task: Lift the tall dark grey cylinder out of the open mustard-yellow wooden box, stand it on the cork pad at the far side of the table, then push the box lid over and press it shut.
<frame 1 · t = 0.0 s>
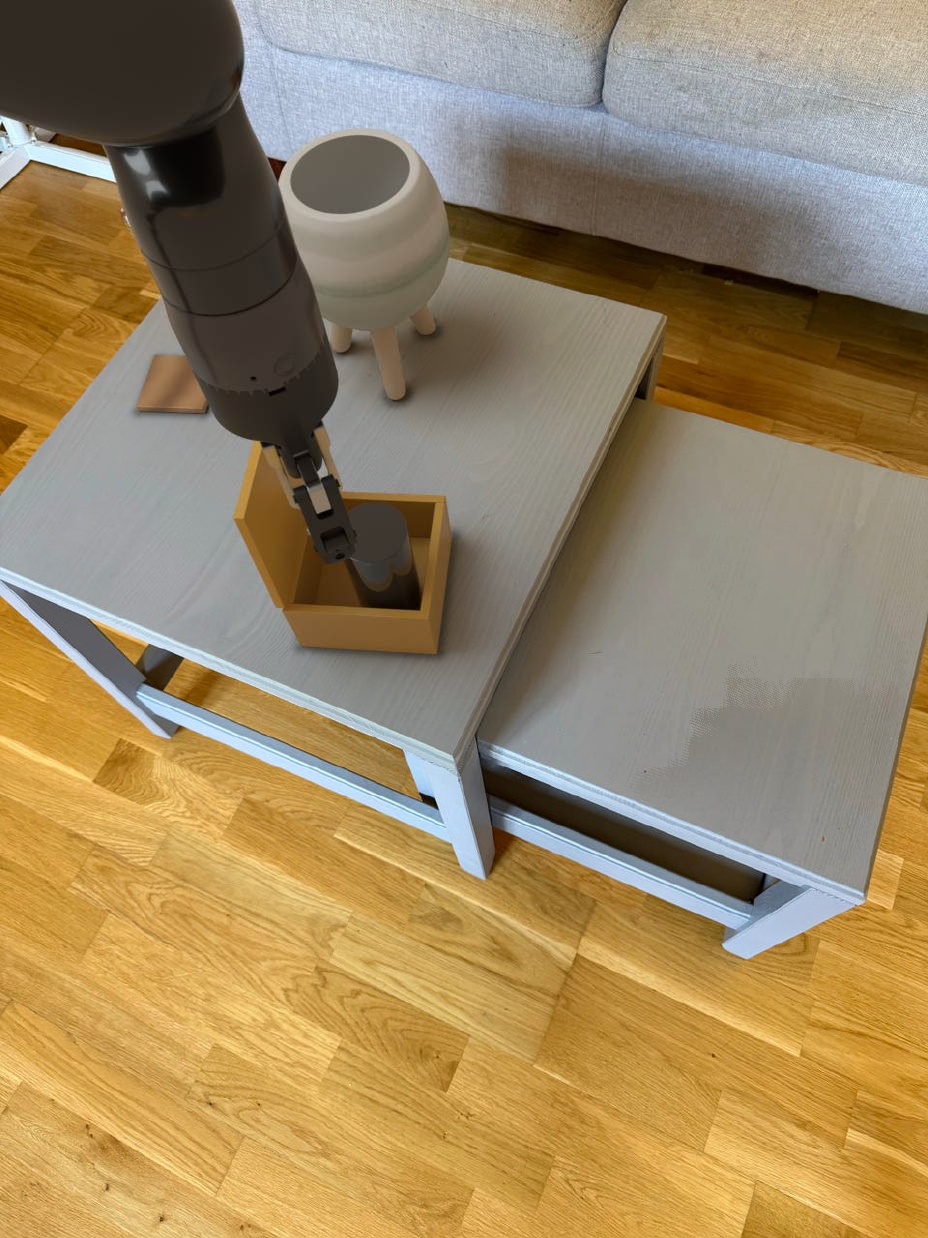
hand: (319, 508, 62), 22 cm above the table, tool pointing down, fingers open, 8 cm apart
dark grey cylinder: (393, 603, 83), point 1 cm above the table, touching chest
pad: (180, 385, 99), on the table
planter: (388, 358, 99), on the table
lid: (277, 500, 73), point 14 cm above the table, hinge at 88.0°
decorative stone: (250, 316, 103), on the table
chest: (378, 590, 85), on the table
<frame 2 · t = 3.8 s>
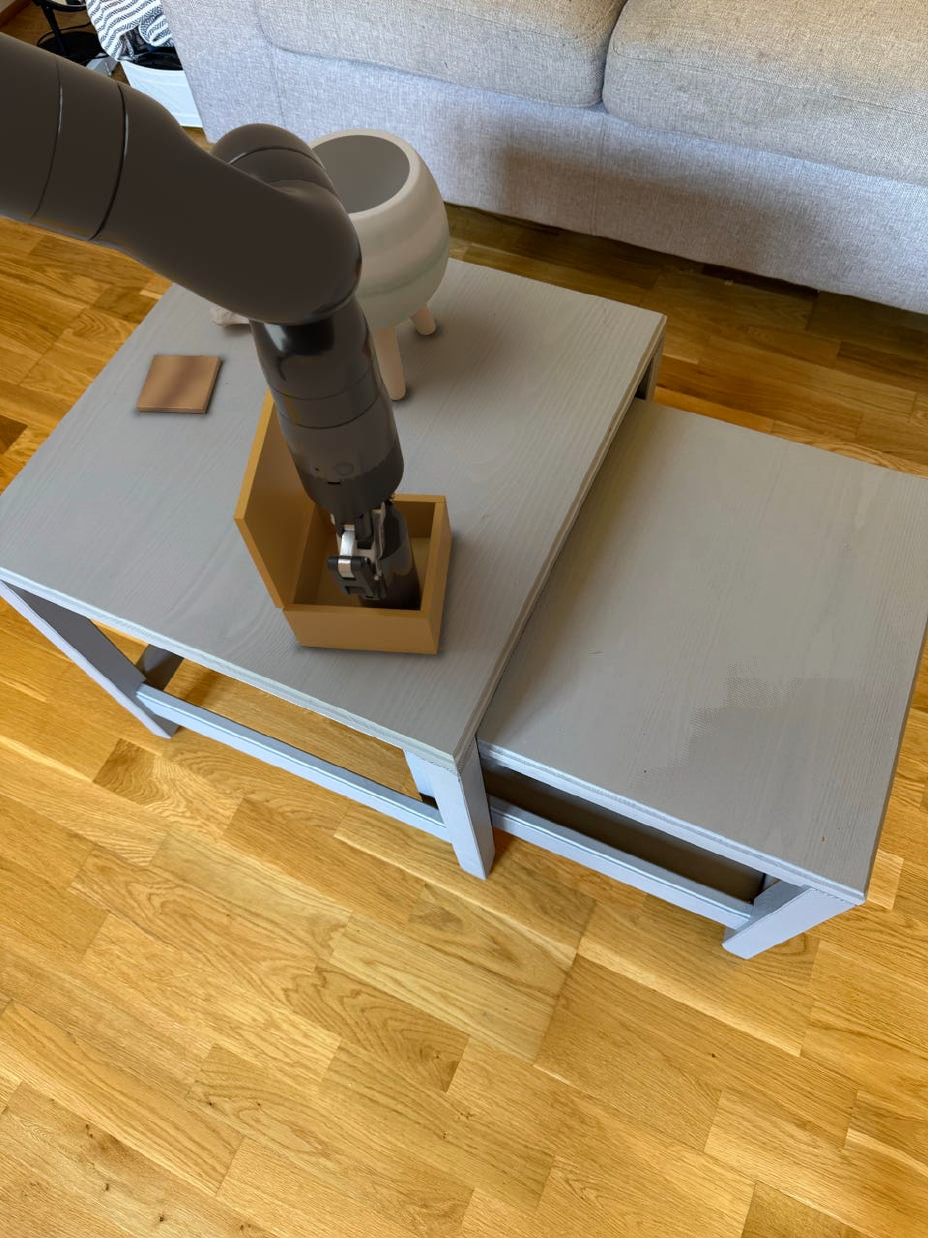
hand: (380, 560, 76), 8 cm above the table, tool pointing down, fingers closed on dark grey cylinder, 6 cm apart
dark grey cylinder: (393, 603, 83), point 1 cm above the table, touching chest, gripper
everything else where it was.
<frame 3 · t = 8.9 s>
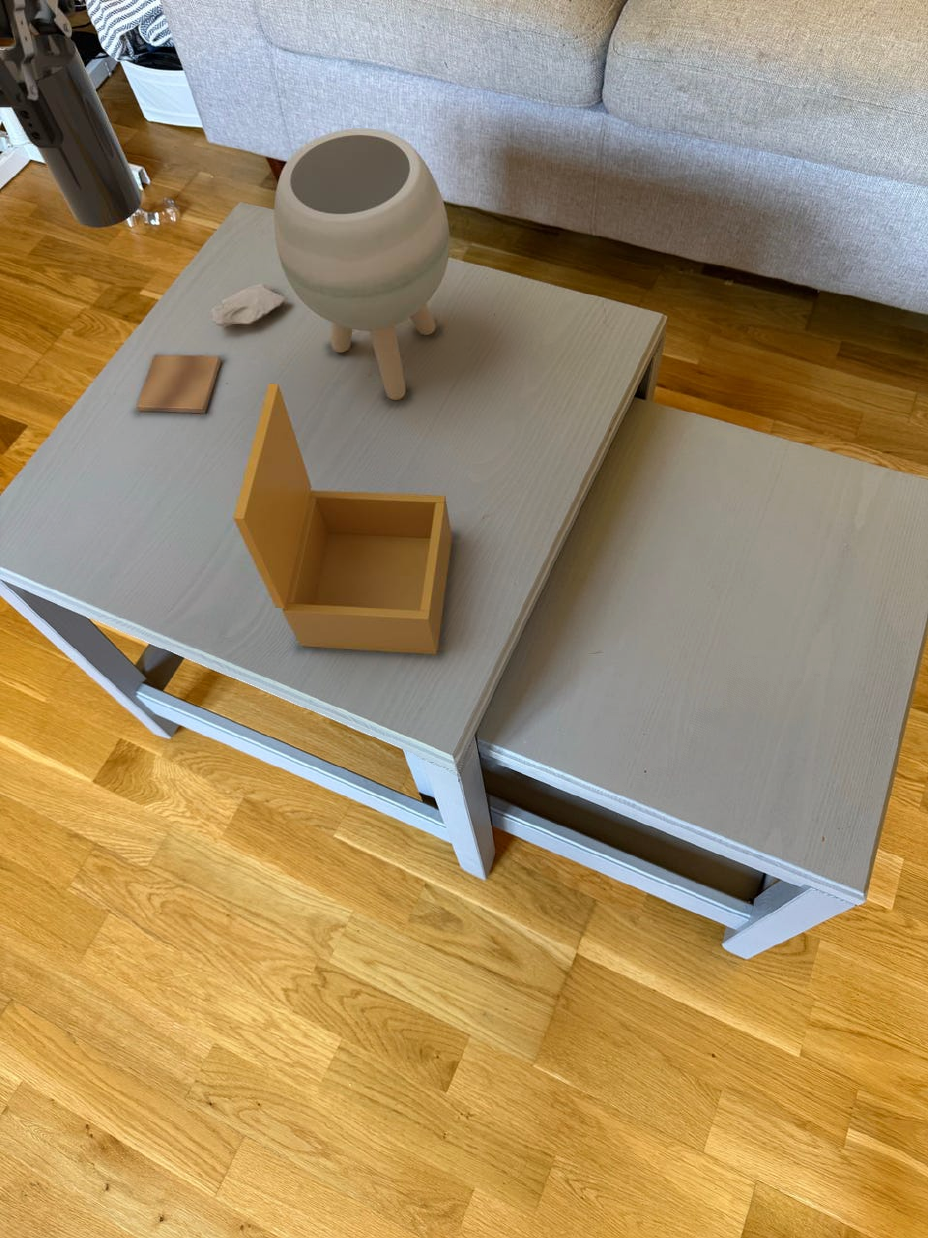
hand: (63, 116, 68), 33 cm above the table, tool pointing down, fingers closed on dark grey cylinder, 6 cm apart
dark grey cylinder: (107, 203, 75), point 25 cm above the table, touching gripper
everything else where it was.
when the fingers open (8 cm above the table, at t = 14.1 s): dark grey cylinder stays where it is, resting on pad.
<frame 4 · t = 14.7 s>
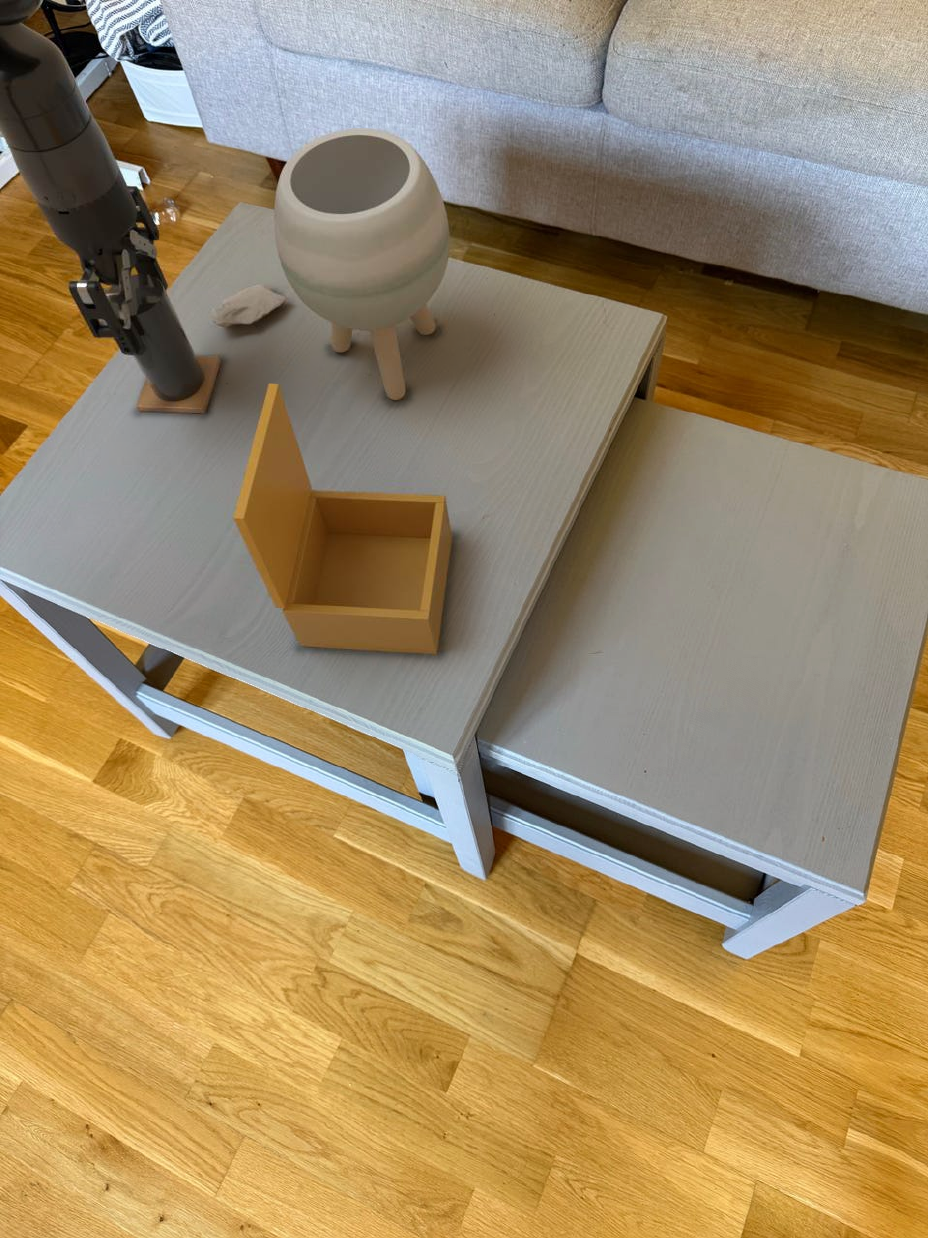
hand: (147, 320, 90), 9 cm above the table, tool pointing down, fingers open, 8 cm apart
dark grey cylinder: (178, 381, 98), point 1 cm above the table, touching pad
everything else where it was.
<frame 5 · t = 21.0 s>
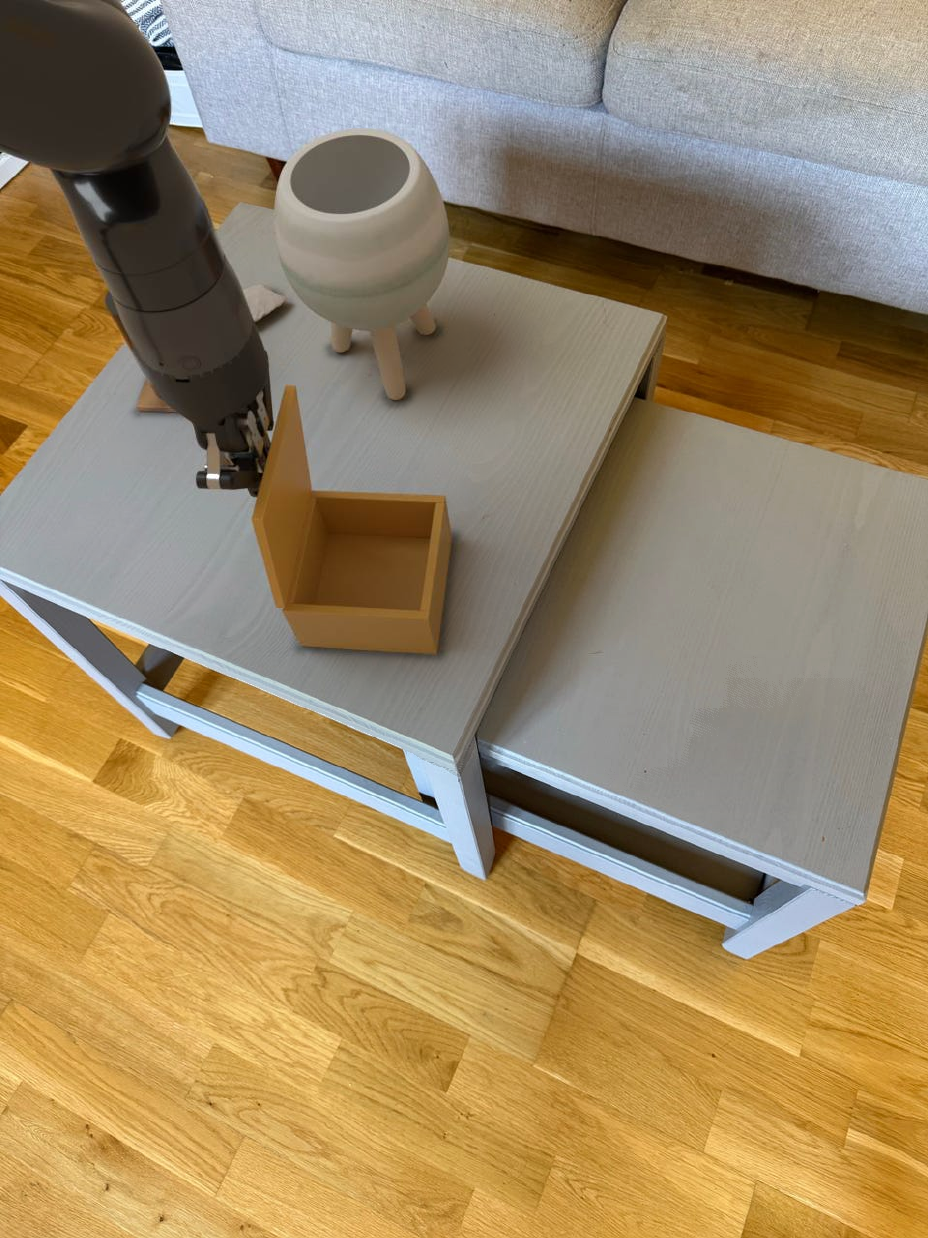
hand: (266, 489, 72), 15 cm above the table, tool pointing down, fingers closed
lid: (285, 501, 73), point 14 cm above the table, hinge at 82.2°, touching gripper
everything else where it was.
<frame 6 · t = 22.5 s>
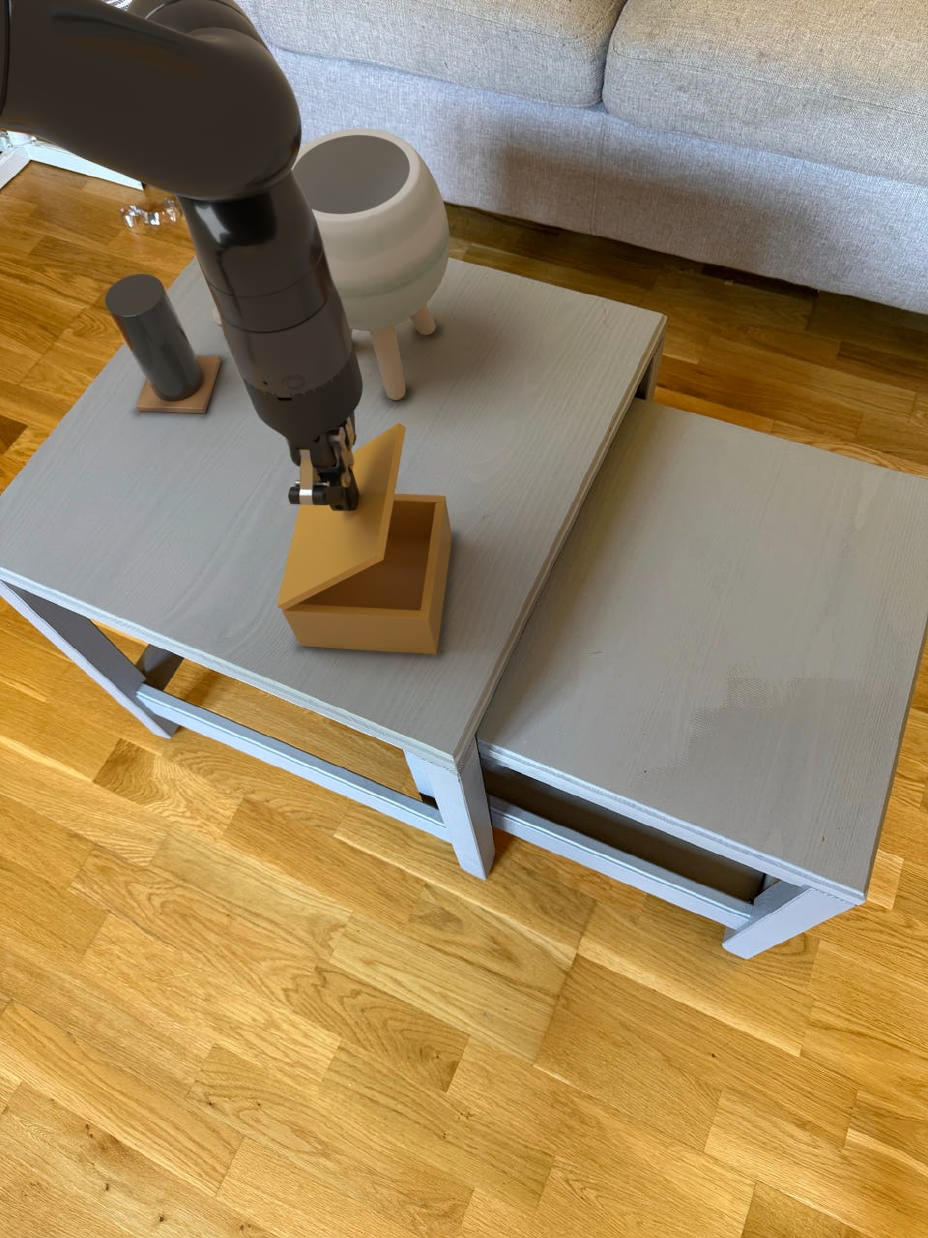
hand: (345, 503, 73), 14 cm above the table, tool pointing down, fingers closed
lid: (340, 518, 74), point 12 cm above the table, hinge at 42.1°, touching gripper
everything else where it was.
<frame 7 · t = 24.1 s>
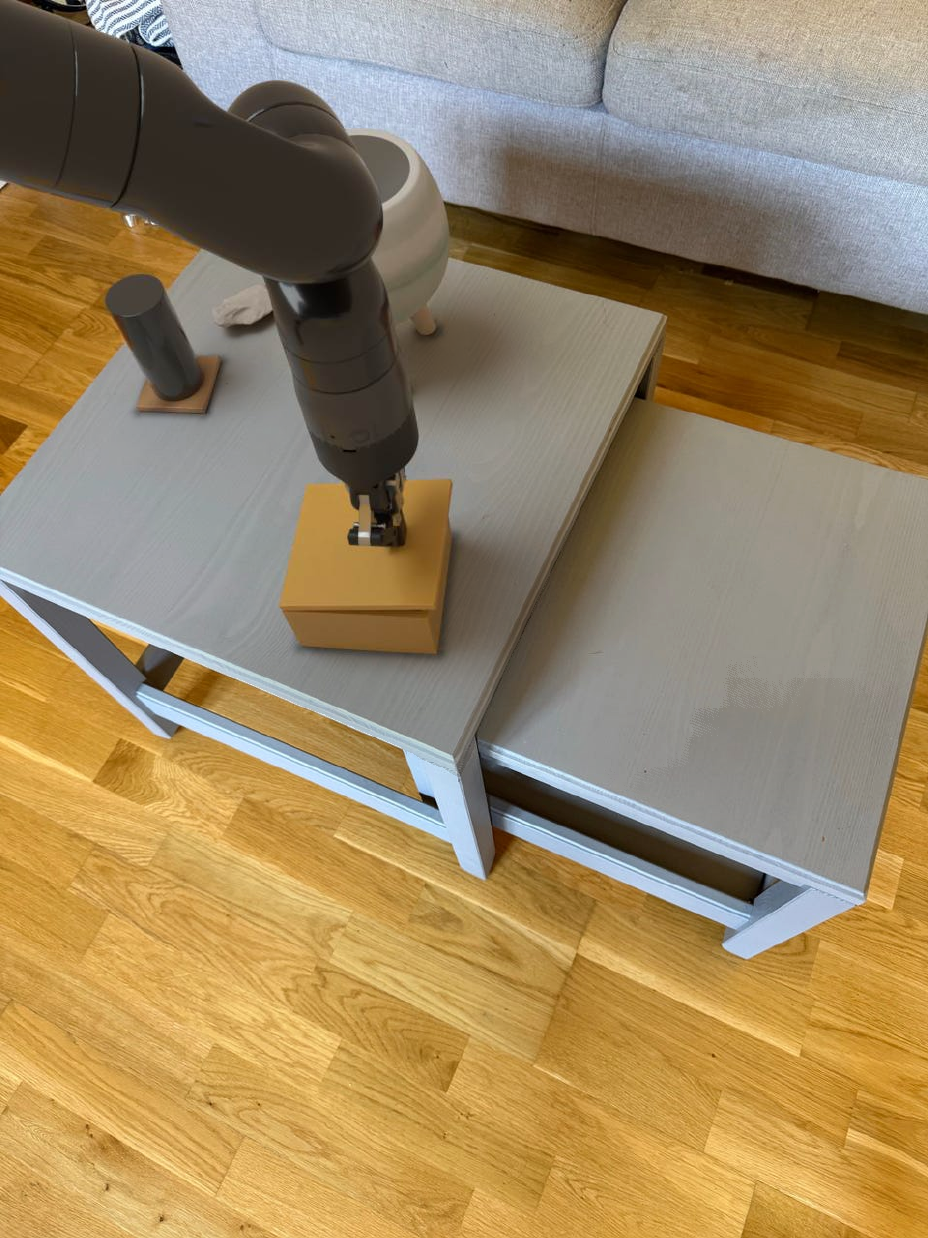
hand: (393, 538, 77), 9 cm above the table, tool pointing down, fingers closed
lid: (367, 543, 78), point 8 cm above the table, hinge at 7.3°, touching gripper
everything else where it was.
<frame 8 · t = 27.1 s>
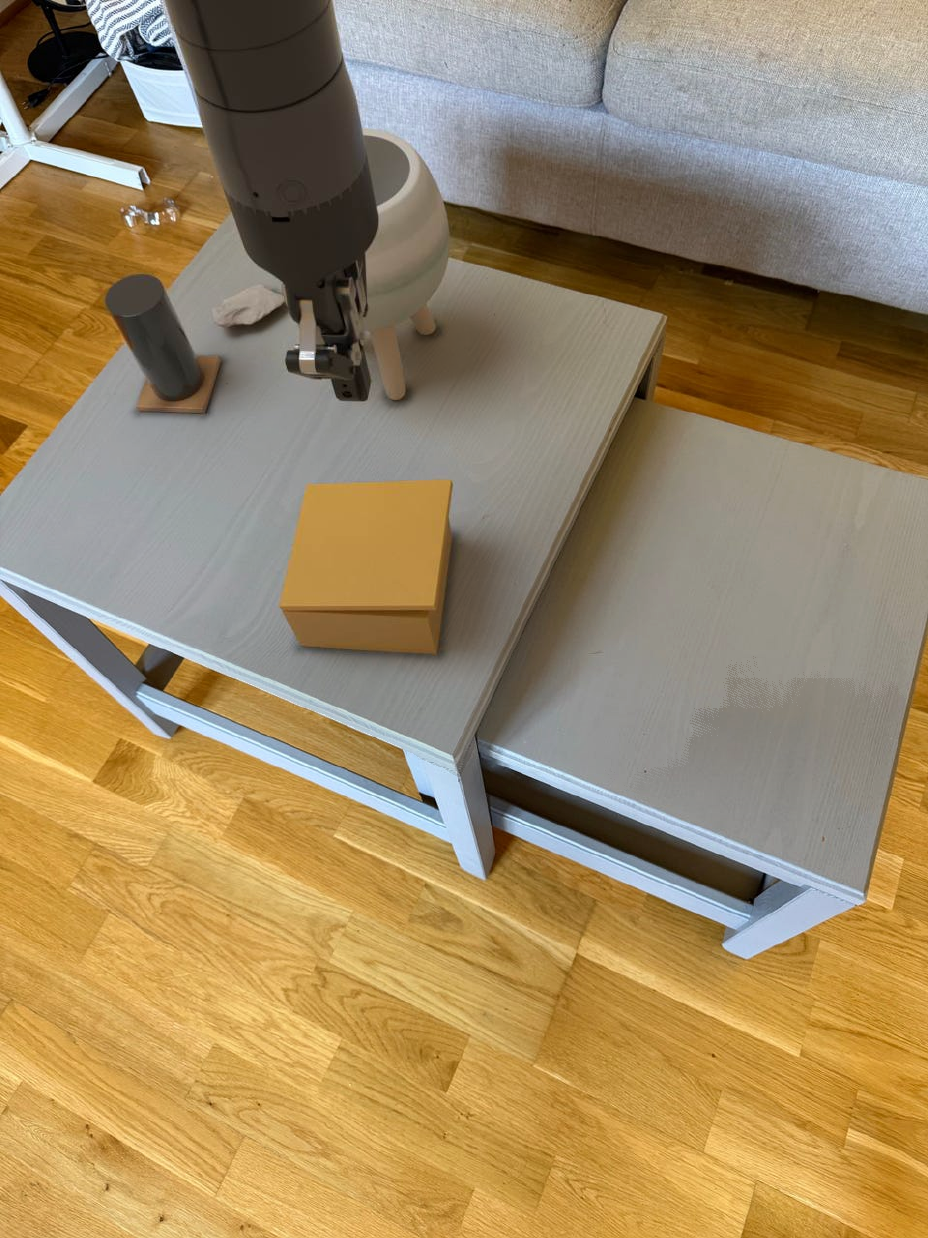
hand: (354, 393, 61), 27 cm above the table, tool pointing down, fingers closed
lid: (367, 543, 78), point 8 cm above the table, hinge at 6.9°
everything else where it was.
at the end: dark grey cylinder 0.0 cm off-centre on the pad, point 0.8 cm above the pad's base; dark grey cylinder tilted 0°; lid at +7° (first picture: +88°) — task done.
